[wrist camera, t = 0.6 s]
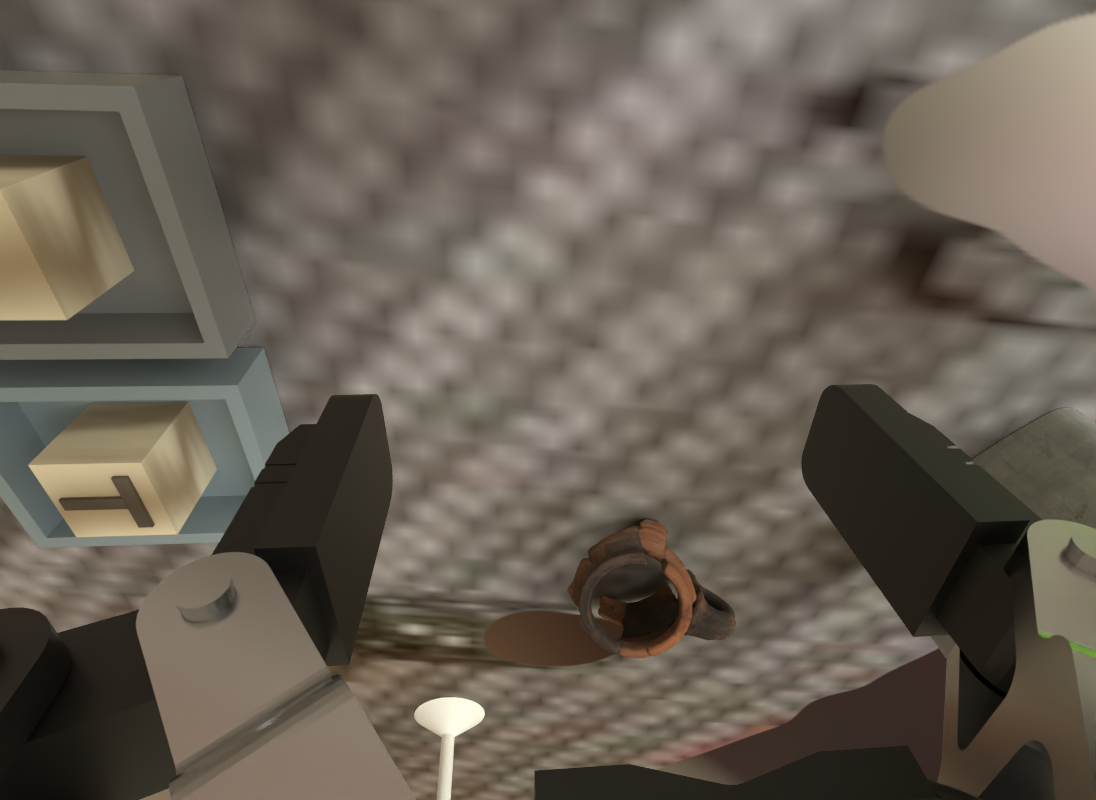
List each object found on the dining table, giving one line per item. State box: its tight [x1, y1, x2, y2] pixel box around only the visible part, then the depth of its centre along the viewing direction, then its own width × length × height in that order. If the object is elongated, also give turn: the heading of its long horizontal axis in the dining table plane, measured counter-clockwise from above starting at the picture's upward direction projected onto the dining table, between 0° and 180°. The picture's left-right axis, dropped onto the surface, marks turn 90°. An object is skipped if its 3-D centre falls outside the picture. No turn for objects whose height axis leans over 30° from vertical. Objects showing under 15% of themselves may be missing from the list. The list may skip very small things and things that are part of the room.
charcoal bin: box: [0, 70, 256, 360], centre depth 24 cm, size 11×14×4 cm
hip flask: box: [931, 407, 1096, 659], centre depth 32 cm, size 16×4×20 cm, turn 146°
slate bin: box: [0, 347, 289, 548], centre depth 31 cm, size 11×14×4 cm
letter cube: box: [28, 401, 217, 537], centre depth 30 cm, size 5×5×5 cm
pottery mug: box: [568, 519, 736, 658], centre depth 40 cm, size 12×10×8 cm
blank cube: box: [0, 155, 134, 320], centre depth 22 cm, size 5×5×5 cm
